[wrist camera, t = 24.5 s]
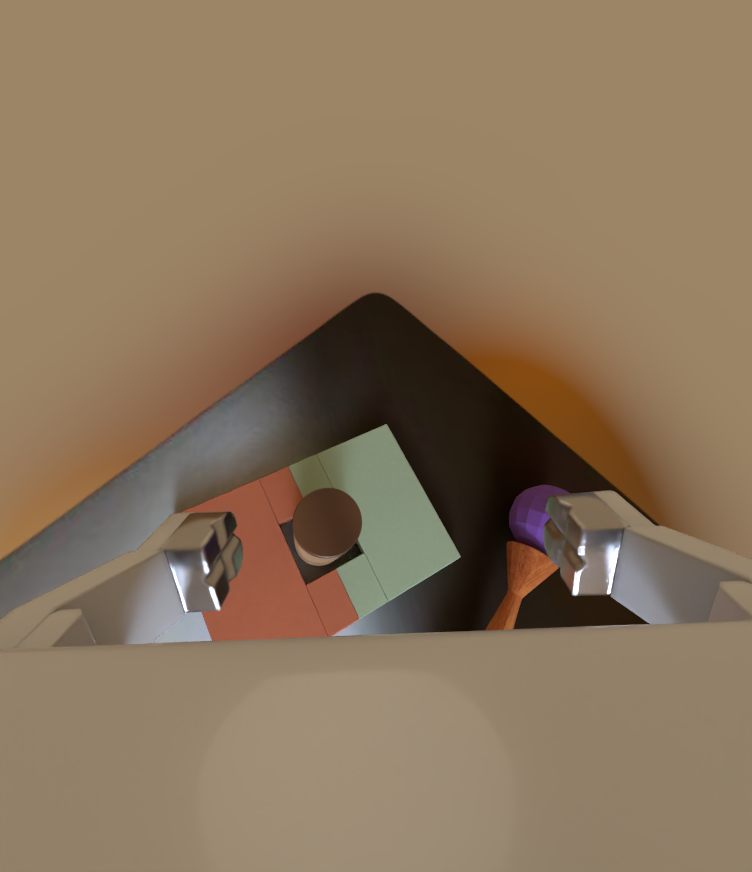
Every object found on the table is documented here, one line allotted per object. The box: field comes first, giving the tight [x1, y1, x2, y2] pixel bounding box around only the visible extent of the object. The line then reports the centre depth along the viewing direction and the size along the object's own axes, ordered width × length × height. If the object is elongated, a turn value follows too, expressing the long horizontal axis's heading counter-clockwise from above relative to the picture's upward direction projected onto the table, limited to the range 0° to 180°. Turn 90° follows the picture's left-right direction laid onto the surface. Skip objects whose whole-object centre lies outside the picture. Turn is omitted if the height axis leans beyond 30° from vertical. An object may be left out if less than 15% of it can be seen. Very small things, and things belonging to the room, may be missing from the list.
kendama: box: [485, 485, 570, 631], centre depth 29 cm, size 6×6×20 cm
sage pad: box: [289, 424, 461, 619], centre depth 32 cm, size 10×13×2 cm
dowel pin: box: [292, 488, 362, 566], centre depth 26 cm, size 4×4×10 cm
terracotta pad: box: [180, 467, 359, 641], centre depth 28 cm, size 10×13×2 cm
